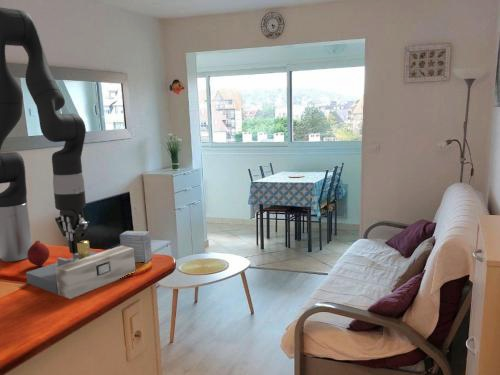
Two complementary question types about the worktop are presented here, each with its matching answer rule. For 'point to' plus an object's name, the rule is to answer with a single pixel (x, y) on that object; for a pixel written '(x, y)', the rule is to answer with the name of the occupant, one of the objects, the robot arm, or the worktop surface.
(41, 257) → the onion
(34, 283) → the door leaf
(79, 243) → the bolt
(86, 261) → the block
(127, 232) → the medicine box
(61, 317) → the worktop surface
